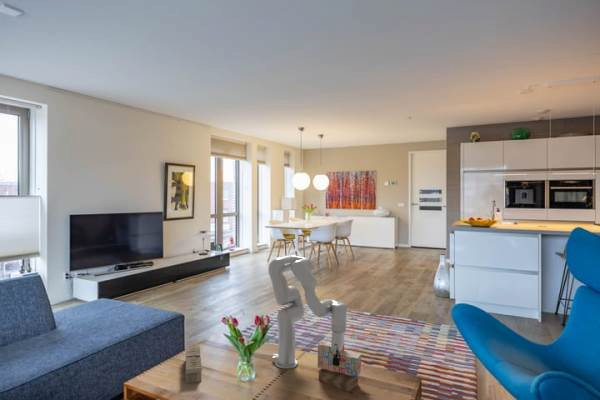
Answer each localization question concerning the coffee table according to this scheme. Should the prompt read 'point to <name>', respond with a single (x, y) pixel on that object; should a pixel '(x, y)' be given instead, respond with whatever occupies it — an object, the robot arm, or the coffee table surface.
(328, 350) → the stack of blocks
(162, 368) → the coffee table surface
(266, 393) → the coffee table surface
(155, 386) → the coffee table surface
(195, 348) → the block tower
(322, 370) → the walnut block
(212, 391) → the coffee table surface
